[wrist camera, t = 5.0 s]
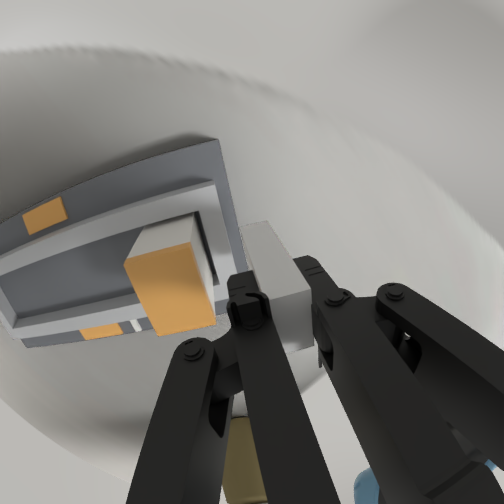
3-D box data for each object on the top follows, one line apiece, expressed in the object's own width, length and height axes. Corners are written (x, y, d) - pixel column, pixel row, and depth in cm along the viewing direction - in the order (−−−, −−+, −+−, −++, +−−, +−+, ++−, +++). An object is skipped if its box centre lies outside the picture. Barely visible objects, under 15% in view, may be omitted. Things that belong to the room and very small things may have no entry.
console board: (217, 139, 17) (220, 140, 13) (252, 290, 22) (260, 317, 19) (-19, 235, 15) (-40, 251, 12) (33, 335, 20) (21, 357, 17)
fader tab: (194, 210, 16) (189, 247, 11) (212, 271, 18) (216, 324, 13) (145, 224, 16) (123, 264, 11) (167, 282, 18) (158, 336, 13)
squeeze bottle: (199, 430, 31) (212, 545, 15) (232, 406, 29) (258, 541, 13) (245, 440, 34) (267, 540, 18) (280, 417, 32) (314, 530, 16)
